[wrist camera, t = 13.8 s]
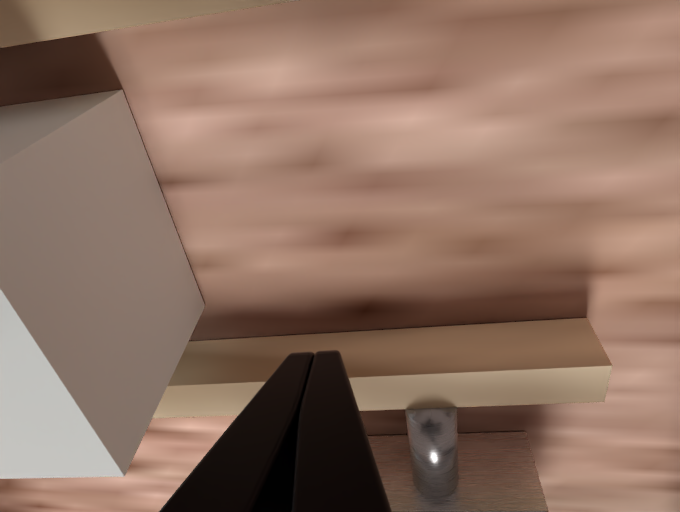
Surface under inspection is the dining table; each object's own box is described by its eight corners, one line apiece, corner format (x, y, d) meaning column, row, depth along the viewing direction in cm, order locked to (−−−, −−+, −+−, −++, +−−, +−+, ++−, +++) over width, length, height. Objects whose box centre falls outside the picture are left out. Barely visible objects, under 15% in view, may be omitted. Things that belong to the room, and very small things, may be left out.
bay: (581, 352, 16) (604, 402, 14) (31, 380, 19) (-4, 423, 17) (669, -164, 9) (735, -186, 7) (-235, 5, 12) (-337, 18, 10)
